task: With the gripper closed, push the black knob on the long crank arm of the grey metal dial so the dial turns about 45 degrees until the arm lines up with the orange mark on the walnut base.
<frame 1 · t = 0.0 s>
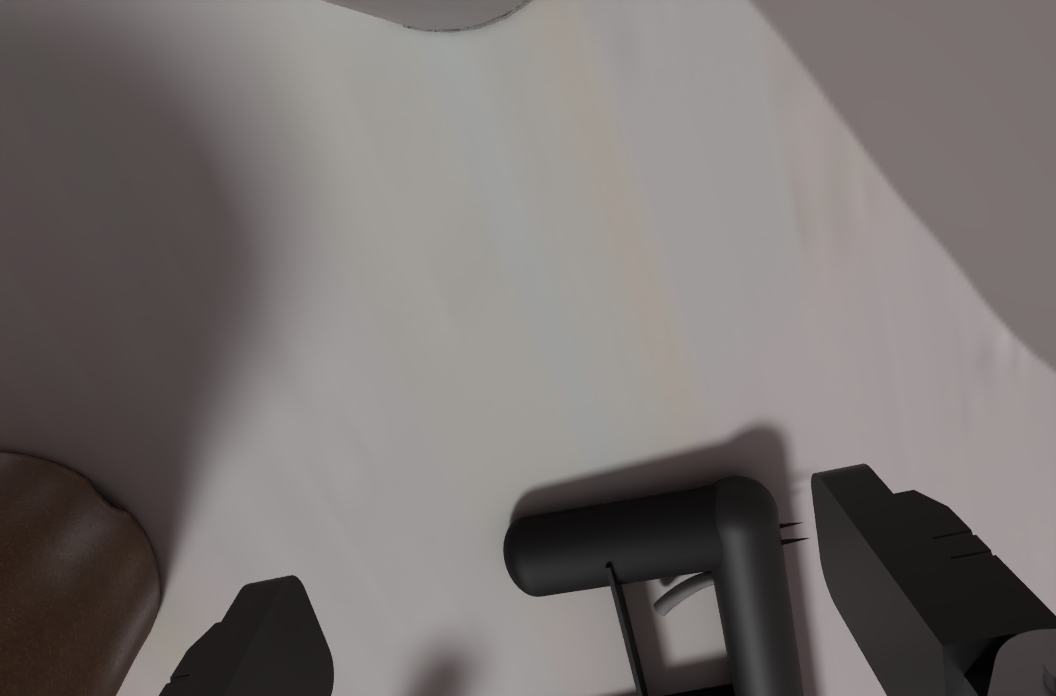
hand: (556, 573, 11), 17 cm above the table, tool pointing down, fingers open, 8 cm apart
door handle: (638, 659, 35), on the table
plant pot: (34, 561, 32), on the table
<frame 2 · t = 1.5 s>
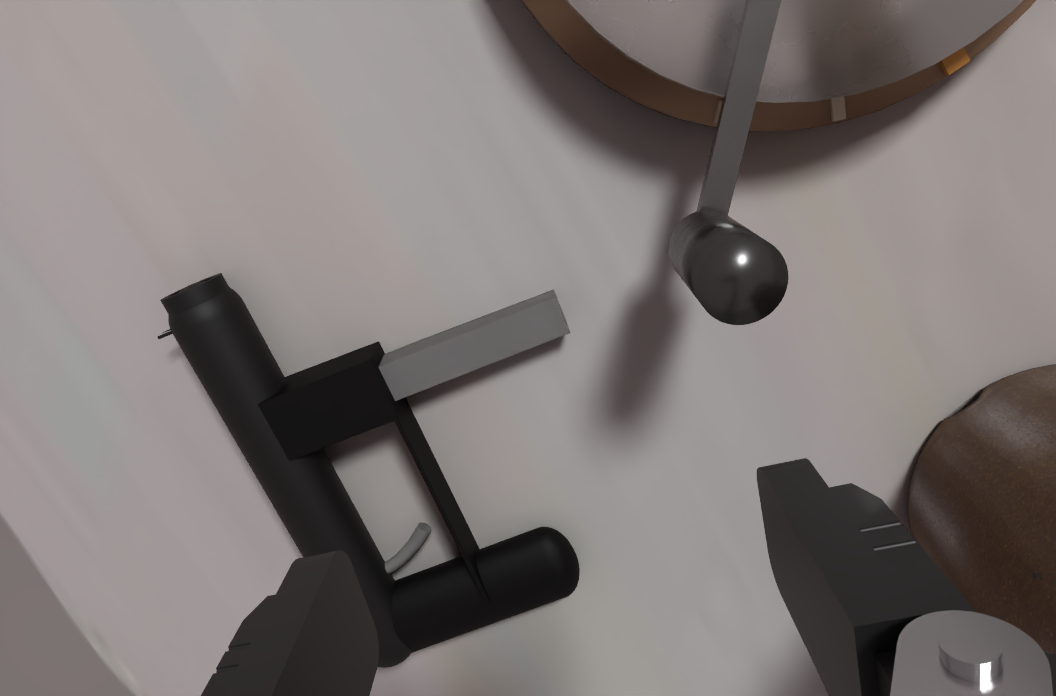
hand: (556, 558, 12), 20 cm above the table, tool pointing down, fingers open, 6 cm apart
door handle: (423, 428, 33), on the table
plant pot: (1031, 482, 33), on the table
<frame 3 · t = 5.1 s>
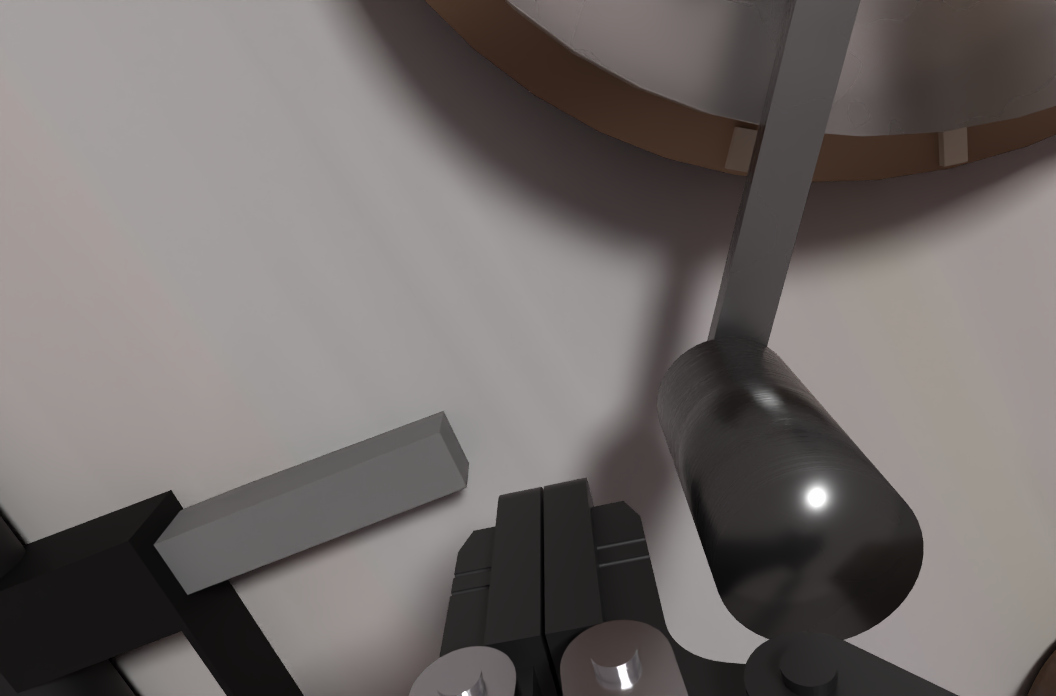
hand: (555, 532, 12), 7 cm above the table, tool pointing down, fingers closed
door handle: (261, 609, 22), on the table
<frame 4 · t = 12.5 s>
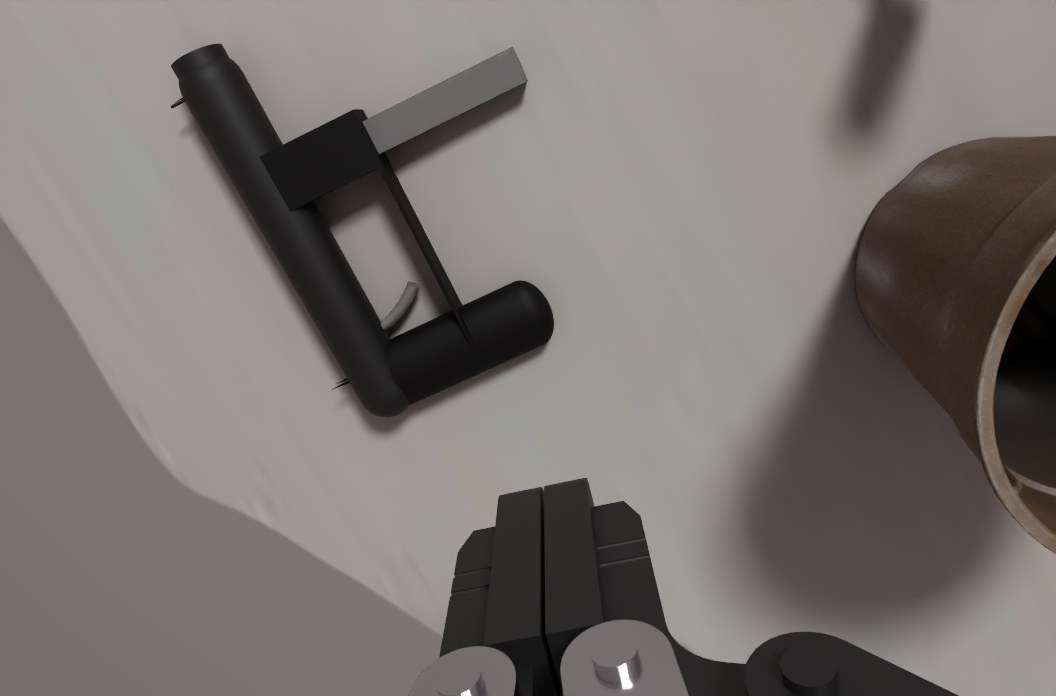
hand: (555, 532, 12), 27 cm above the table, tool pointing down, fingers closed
door handle: (408, 197, 38), on the table
plant pot: (963, 258, 38), on the table
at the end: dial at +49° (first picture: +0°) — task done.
